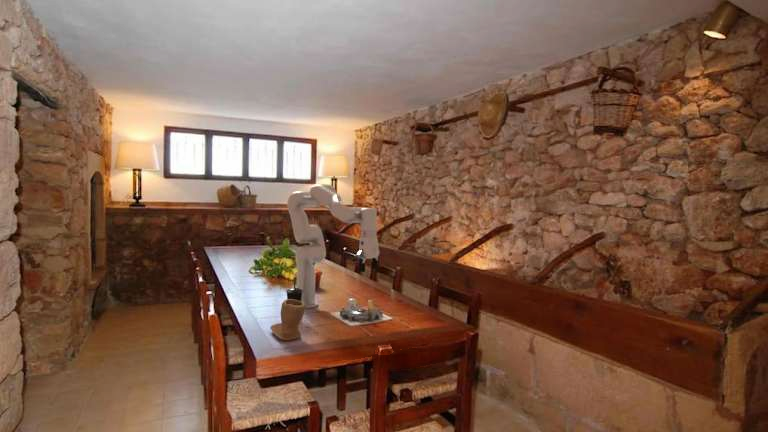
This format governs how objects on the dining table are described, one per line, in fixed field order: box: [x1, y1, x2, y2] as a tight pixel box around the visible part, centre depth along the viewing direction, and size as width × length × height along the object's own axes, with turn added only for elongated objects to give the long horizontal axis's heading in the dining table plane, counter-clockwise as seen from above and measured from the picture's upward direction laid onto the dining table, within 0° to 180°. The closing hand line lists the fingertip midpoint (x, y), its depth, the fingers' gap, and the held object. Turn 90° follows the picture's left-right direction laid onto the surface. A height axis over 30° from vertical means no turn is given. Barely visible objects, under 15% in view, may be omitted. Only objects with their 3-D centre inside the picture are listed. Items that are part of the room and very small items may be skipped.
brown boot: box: [270, 298, 306, 341], centre depth 175 cm, size 15×12×15 cm
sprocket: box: [339, 299, 384, 322], centre depth 205 cm, size 21×21×9 cm
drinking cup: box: [286, 276, 303, 301], centre depth 198 cm, size 8×8×20 cm
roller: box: [347, 297, 357, 308], centre depth 219 cm, size 4×4×5 cm
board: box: [330, 311, 394, 328], centre depth 205 cm, size 23×21×1 cm
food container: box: [295, 268, 323, 291], centre depth 262 cm, size 16×16×11 cm
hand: (368, 270), depth 200 cm, fingers open, 9 cm apart
